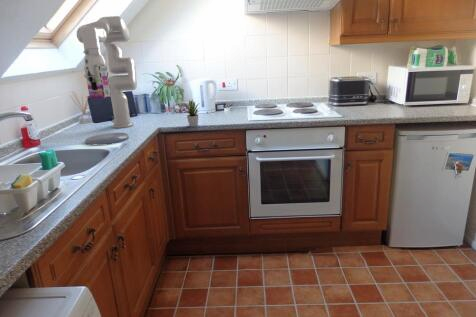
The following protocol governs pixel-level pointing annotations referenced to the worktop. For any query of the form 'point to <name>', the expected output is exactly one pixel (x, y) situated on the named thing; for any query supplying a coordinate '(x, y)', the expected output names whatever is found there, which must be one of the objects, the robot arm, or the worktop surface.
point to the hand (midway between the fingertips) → (99, 88)
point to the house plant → (192, 113)
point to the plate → (107, 138)
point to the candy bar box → (100, 83)
